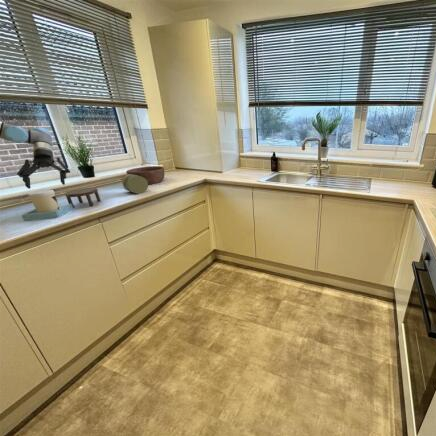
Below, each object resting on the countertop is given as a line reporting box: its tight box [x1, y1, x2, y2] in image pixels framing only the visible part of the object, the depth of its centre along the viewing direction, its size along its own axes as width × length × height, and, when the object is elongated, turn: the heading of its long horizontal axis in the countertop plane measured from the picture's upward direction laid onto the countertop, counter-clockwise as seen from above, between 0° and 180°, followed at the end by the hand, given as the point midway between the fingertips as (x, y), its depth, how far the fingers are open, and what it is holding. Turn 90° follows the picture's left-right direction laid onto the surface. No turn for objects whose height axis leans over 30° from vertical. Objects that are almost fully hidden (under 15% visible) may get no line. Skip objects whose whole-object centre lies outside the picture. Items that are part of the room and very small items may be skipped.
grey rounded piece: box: [120, 173, 149, 195], centre depth 156 cm, size 11×12×11 cm
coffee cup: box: [27, 188, 60, 213], centre depth 119 cm, size 9×9×12 cm
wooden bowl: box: [125, 165, 165, 186], centre depth 182 cm, size 25×25×10 cm
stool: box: [64, 187, 102, 209], centre depth 134 cm, size 14×14×8 cm
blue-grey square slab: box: [21, 203, 74, 222], centre depth 121 cm, size 14×13×3 cm
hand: (45, 185), depth 124 cm, fingers open, 13 cm apart
